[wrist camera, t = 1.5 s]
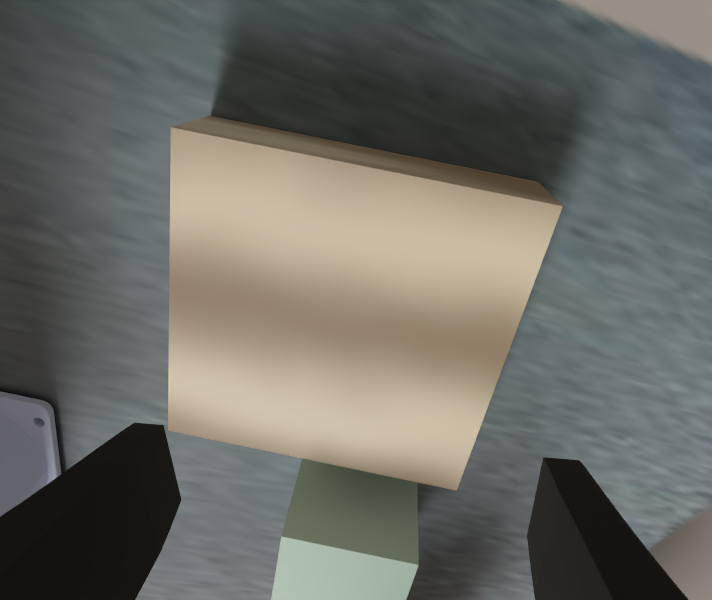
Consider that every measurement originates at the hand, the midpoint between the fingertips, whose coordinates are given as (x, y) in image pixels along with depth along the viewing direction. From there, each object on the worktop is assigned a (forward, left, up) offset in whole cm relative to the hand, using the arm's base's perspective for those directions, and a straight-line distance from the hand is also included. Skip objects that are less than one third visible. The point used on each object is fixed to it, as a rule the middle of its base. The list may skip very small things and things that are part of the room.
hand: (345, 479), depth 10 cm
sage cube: (-11, -1, -10) cm, 15 cm away
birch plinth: (-1, +1, -10) cm, 10 cm away
